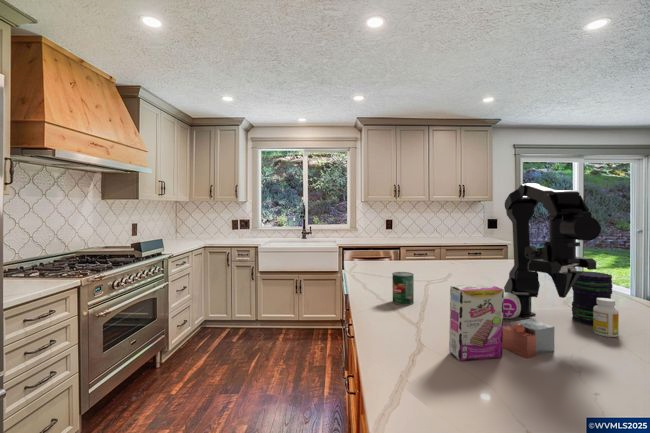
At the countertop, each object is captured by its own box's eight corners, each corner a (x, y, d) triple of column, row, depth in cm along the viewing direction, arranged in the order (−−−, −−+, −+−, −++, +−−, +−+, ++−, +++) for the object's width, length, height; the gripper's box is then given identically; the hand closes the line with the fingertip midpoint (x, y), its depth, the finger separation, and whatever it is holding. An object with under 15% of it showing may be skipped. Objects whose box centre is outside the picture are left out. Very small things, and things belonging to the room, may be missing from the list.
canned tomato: (416, 301, 127) (416, 273, 127) (409, 306, 120) (409, 276, 120) (396, 298, 131) (396, 271, 131) (389, 303, 124) (389, 274, 124)
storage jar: (606, 319, 105) (606, 272, 105) (617, 329, 97) (618, 278, 96) (568, 315, 110) (568, 270, 110) (575, 324, 101) (576, 275, 101)
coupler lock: (530, 341, 87) (530, 318, 87) (554, 350, 81) (555, 326, 81) (510, 345, 85) (510, 322, 85) (534, 355, 79) (535, 330, 79)
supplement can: (473, 319, 103) (521, 322, 103) (474, 292, 103) (522, 295, 103) (462, 312, 111) (506, 315, 111) (463, 287, 111) (507, 290, 111)
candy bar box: (460, 362, 75) (460, 290, 75) (448, 353, 80) (448, 285, 80) (504, 358, 77) (504, 288, 77) (490, 349, 82) (490, 283, 82)
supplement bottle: (612, 331, 94) (612, 297, 94) (622, 338, 89) (622, 302, 89) (589, 329, 96) (590, 296, 96) (598, 336, 91) (598, 300, 91)
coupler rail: (536, 339, 89) (536, 314, 88) (563, 349, 82) (563, 322, 82) (500, 347, 84) (500, 320, 84) (526, 358, 77) (526, 329, 77)
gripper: (554, 235, 98) (554, 288, 98) (509, 237, 91) (509, 293, 91) (597, 237, 88) (597, 296, 88) (550, 239, 81) (550, 303, 81)
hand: (562, 297), depth 87 cm, fingers closed
